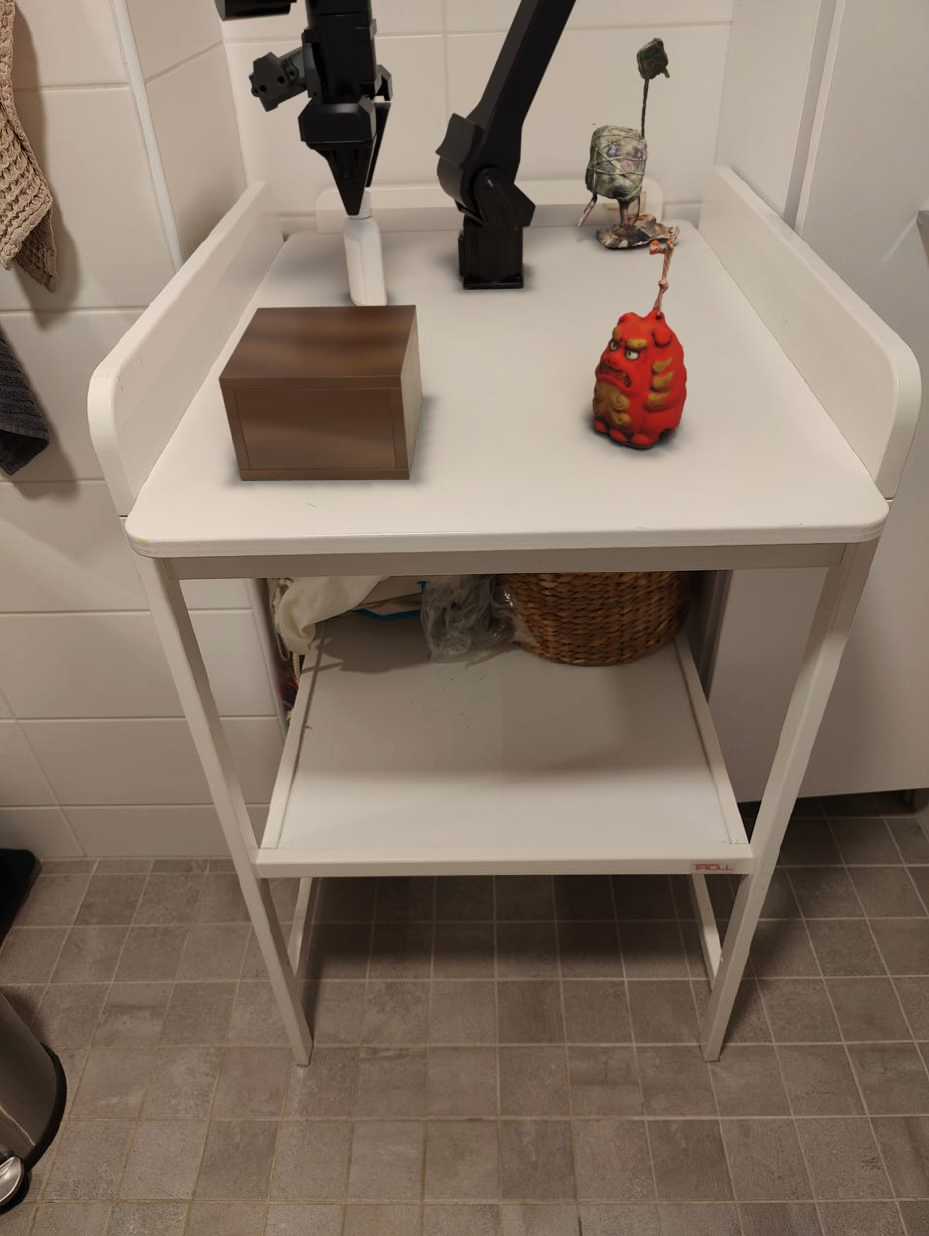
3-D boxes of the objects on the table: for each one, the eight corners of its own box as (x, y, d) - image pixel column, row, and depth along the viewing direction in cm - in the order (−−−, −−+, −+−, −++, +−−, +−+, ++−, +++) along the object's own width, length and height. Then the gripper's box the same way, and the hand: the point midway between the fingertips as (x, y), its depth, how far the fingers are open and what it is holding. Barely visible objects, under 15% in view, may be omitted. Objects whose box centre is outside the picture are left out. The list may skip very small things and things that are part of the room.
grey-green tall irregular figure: (574, 229, 111) (582, 36, 98) (668, 227, 110) (688, 33, 98) (578, 252, 105) (586, 49, 92) (677, 250, 104) (700, 45, 91)
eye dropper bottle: (343, 311, 94) (327, 186, 86) (354, 291, 98) (340, 170, 90) (384, 311, 93) (373, 186, 85) (394, 291, 97) (383, 170, 90)
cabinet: (275, 402, 79) (257, 307, 73) (422, 400, 78) (416, 304, 73) (240, 480, 69) (218, 378, 64) (409, 479, 68) (400, 375, 63)
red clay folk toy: (571, 425, 74) (580, 232, 64) (633, 398, 77) (651, 211, 67) (640, 462, 69) (661, 260, 59) (703, 432, 72) (732, 236, 62)
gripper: (269, 0, 87) (295, 176, 97) (221, 30, 72) (258, 233, 83) (385, -5, 86) (399, 173, 96) (360, 25, 72) (380, 230, 82)
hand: (359, 200), depth 89 cm, fingers open, 9 cm apart
